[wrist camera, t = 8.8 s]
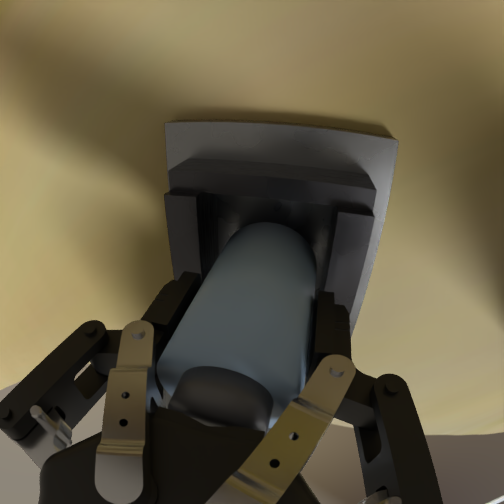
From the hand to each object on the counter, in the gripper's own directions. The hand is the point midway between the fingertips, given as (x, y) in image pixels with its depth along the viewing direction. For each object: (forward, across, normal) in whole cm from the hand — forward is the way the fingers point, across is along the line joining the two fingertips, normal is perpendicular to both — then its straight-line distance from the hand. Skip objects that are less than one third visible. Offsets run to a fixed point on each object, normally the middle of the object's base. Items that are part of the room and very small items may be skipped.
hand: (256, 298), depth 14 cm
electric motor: (+5, 0, +5) cm, 7 cm away
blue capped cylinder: (+3, 0, 0) cm, 3 cm away
